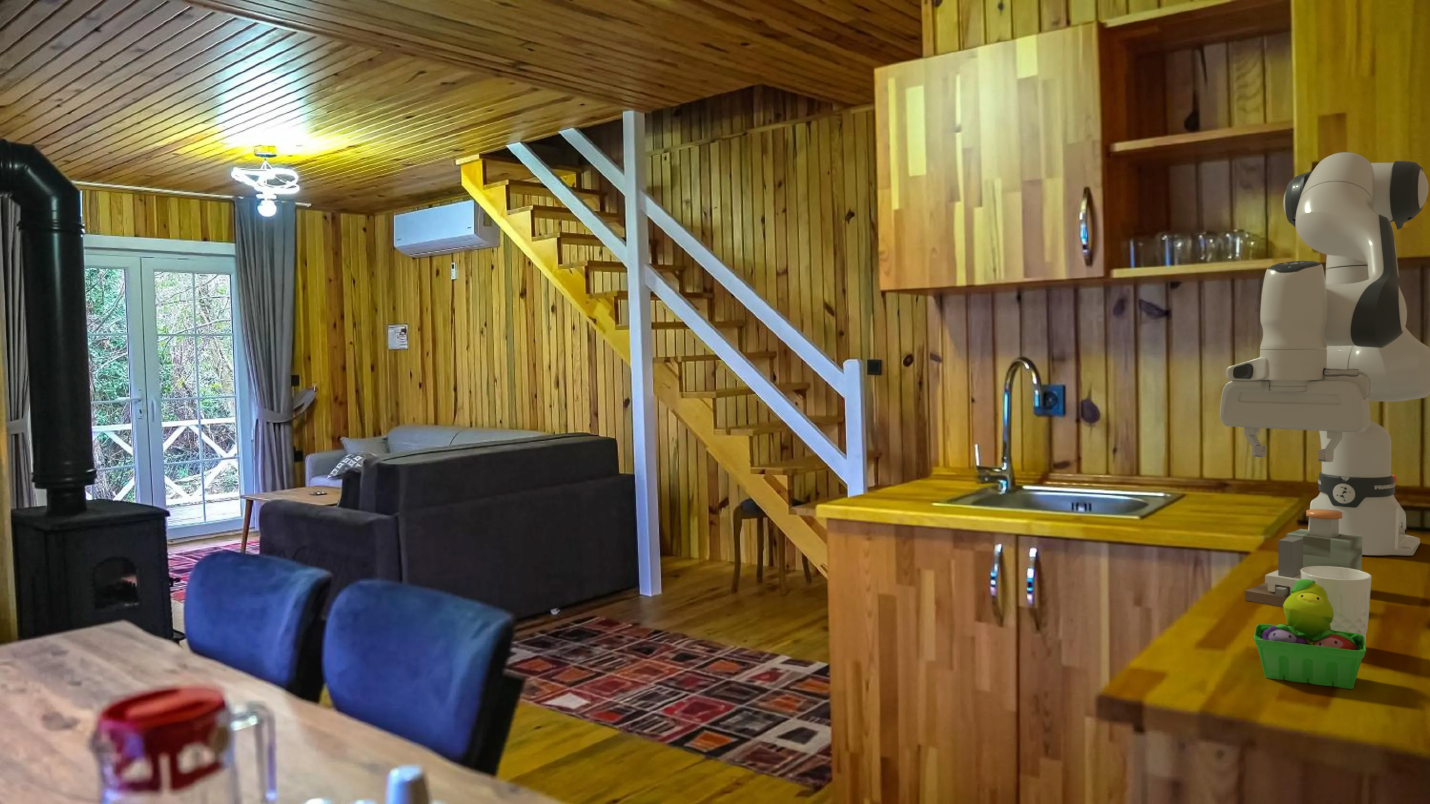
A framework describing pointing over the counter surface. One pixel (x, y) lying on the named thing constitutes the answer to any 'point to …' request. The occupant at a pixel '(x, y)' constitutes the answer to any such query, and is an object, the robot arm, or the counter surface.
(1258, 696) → the counter surface
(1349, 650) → the fruit basket
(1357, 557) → the rail bed
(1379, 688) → the counter surface
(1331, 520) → the button
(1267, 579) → the carriage
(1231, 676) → the counter surface
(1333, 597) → the white cup
